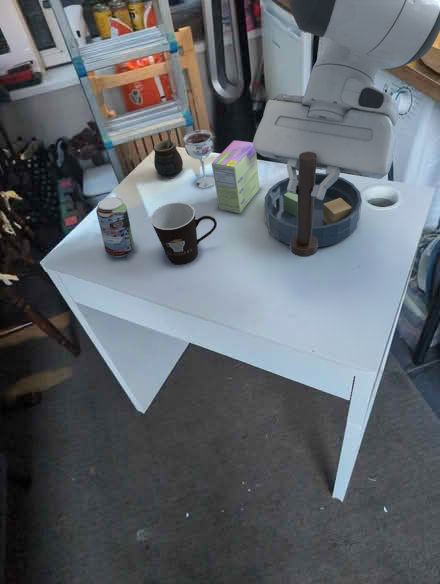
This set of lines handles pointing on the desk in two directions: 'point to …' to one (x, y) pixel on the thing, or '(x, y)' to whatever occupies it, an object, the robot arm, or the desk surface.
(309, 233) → the tall rod on disc
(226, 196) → the box
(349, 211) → the beech block
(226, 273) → the desk surface
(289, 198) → the sage block
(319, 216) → the bowl
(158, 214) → the coffee mug
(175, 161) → the mate gourd
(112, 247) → the beverage can
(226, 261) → the desk surface
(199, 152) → the wineglass
